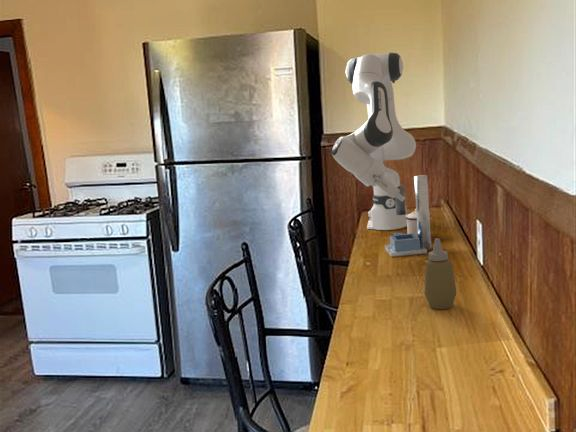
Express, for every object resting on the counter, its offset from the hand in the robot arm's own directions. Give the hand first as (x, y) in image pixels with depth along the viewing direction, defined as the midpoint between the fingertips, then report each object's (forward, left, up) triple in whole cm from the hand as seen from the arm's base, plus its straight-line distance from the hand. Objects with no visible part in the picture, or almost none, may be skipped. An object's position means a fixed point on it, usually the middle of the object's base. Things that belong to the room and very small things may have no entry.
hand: (401, 198), depth 207 cm
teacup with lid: (-18, +9, -19) cm, 28 cm away
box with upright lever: (-4, +2, -19) cm, 20 cm away
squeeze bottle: (+57, -3, -19) cm, 60 cm away
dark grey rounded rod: (0, -1, -5) cm, 5 cm away
